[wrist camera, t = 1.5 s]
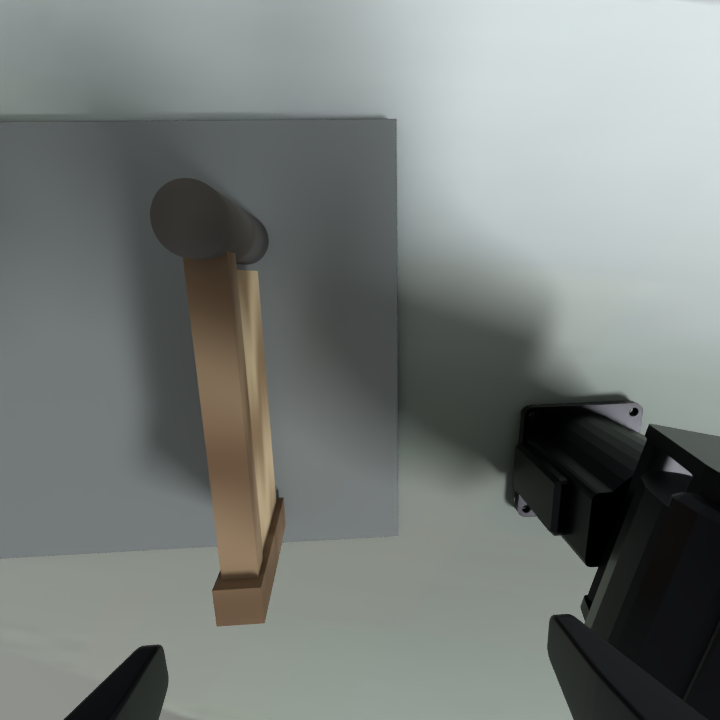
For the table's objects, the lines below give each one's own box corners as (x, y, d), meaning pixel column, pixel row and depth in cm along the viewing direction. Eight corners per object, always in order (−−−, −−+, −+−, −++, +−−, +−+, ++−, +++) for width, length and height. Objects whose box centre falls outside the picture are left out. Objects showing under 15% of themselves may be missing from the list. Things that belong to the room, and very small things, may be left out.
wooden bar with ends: (216, 214, 17) (144, 178, 11) (266, 213, 17) (224, 177, 11) (248, 526, 21) (207, 638, 14) (289, 524, 21) (267, 634, 14)
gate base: (394, 124, 18) (429, 28, 11) (396, 528, 22) (422, 642, 15) (-162, 128, 17) (-514, 25, 10) (-40, 553, 21) (-222, 687, 14)
